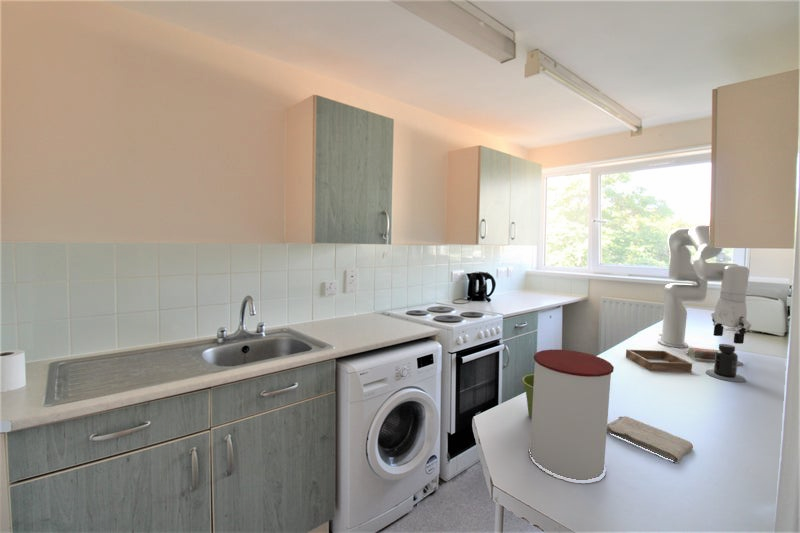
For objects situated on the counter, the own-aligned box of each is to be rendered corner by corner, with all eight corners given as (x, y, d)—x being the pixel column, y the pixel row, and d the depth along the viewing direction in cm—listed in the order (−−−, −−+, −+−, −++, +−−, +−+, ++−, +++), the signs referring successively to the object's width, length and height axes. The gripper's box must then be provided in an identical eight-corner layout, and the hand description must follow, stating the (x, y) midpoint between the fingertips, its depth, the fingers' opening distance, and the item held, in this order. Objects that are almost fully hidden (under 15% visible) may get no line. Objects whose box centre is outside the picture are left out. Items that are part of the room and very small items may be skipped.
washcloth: (620, 421, 111) (621, 412, 110) (694, 451, 96) (695, 439, 96) (601, 433, 104) (602, 423, 103) (678, 467, 89) (679, 455, 89)
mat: (698, 370, 154) (698, 369, 154) (727, 371, 154) (728, 370, 154) (721, 381, 142) (721, 380, 142) (754, 382, 142) (754, 381, 142)
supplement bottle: (729, 372, 151) (732, 343, 150) (740, 378, 144) (743, 348, 143) (709, 370, 153) (712, 342, 151) (719, 376, 146) (722, 347, 145)
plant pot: (512, 413, 114) (513, 377, 112) (539, 405, 119) (541, 371, 118) (542, 432, 103) (544, 393, 102) (571, 422, 108) (574, 385, 107)
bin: (625, 356, 170) (626, 349, 169) (663, 358, 169) (664, 350, 169) (648, 370, 153) (649, 362, 152) (691, 372, 152) (692, 363, 152)
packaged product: (696, 351, 166) (685, 345, 175) (695, 362, 166) (684, 355, 176) (744, 355, 161) (731, 349, 170) (743, 366, 161) (730, 359, 171)
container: (614, 459, 91) (621, 360, 89) (594, 495, 78) (603, 381, 76) (543, 433, 102) (548, 345, 100) (516, 461, 89) (521, 360, 87)
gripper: (705, 292, 154) (701, 332, 156) (742, 301, 137) (736, 346, 139) (724, 293, 154) (719, 333, 156) (763, 301, 137) (757, 346, 139)
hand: (727, 339), depth 147 cm, fingers open, 9 cm apart
